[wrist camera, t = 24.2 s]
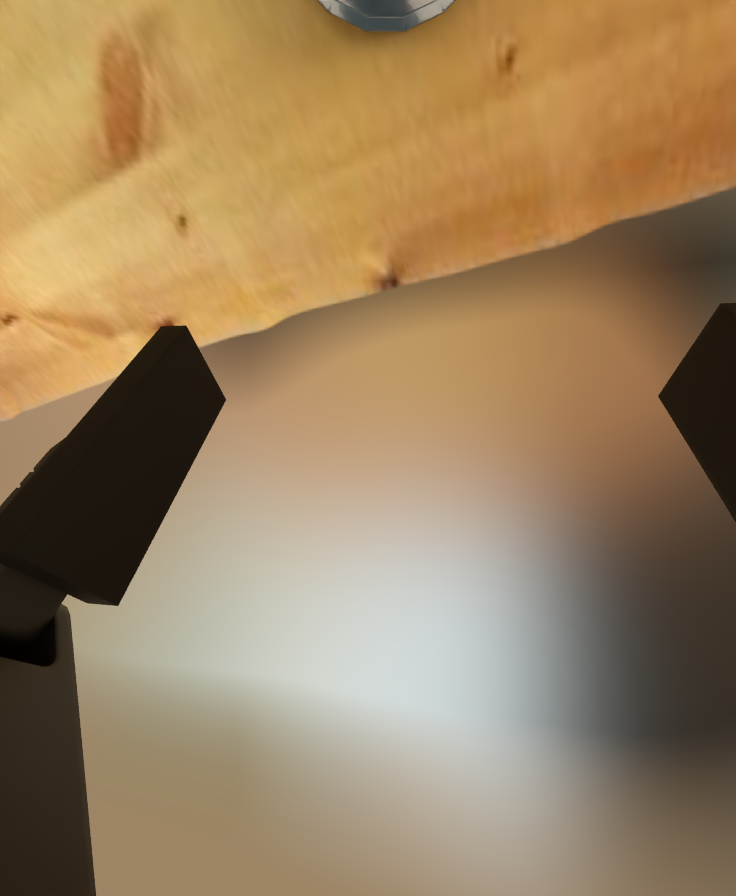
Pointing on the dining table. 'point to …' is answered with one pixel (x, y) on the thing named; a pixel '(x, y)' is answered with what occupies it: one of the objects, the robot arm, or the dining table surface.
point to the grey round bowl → (386, 13)
